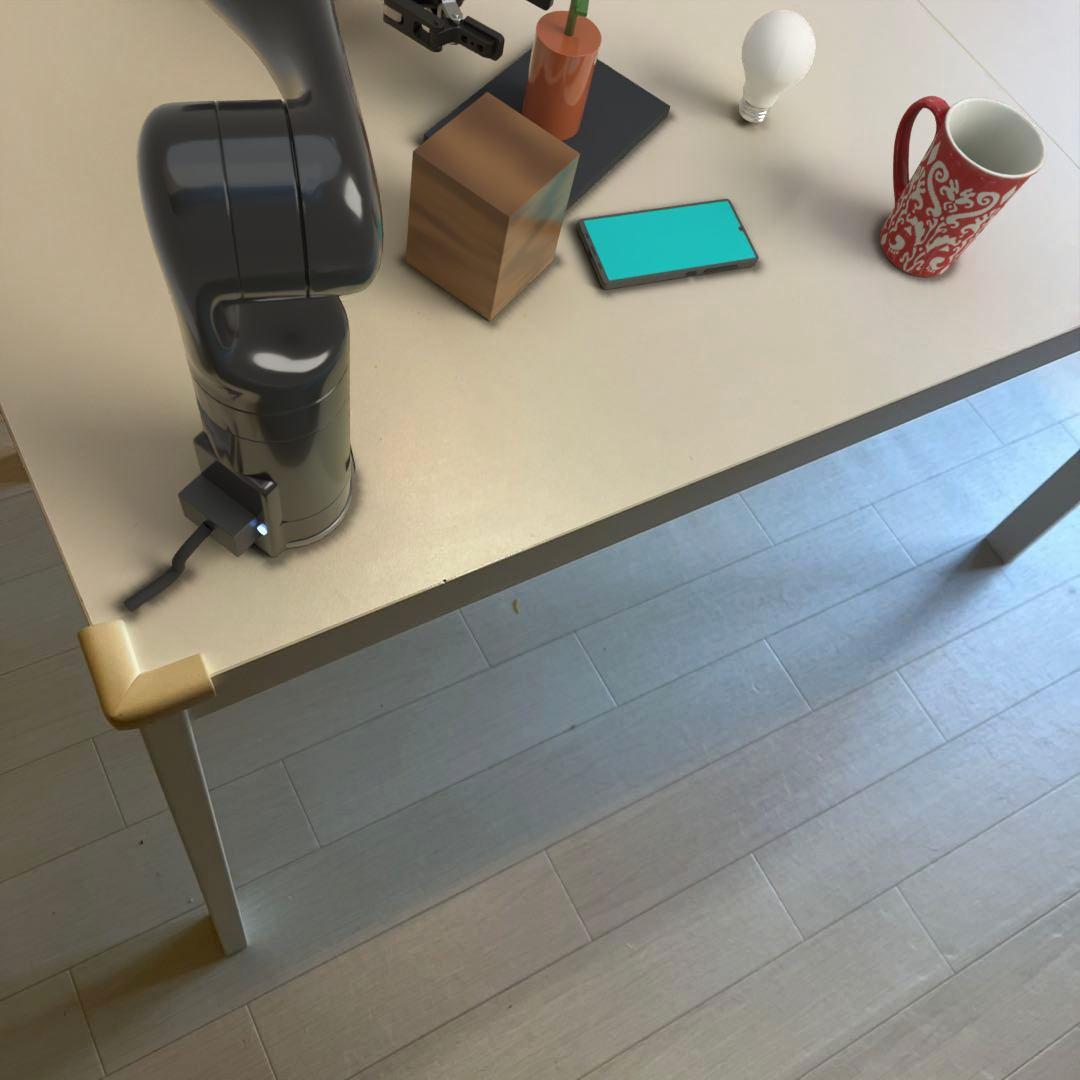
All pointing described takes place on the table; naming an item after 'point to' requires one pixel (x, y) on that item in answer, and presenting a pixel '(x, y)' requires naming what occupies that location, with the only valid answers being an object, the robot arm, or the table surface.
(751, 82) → the light bulb
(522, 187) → the wooden block
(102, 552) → the table surface
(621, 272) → the smartphone
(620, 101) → the placemat
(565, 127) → the flower pot
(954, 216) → the mug
